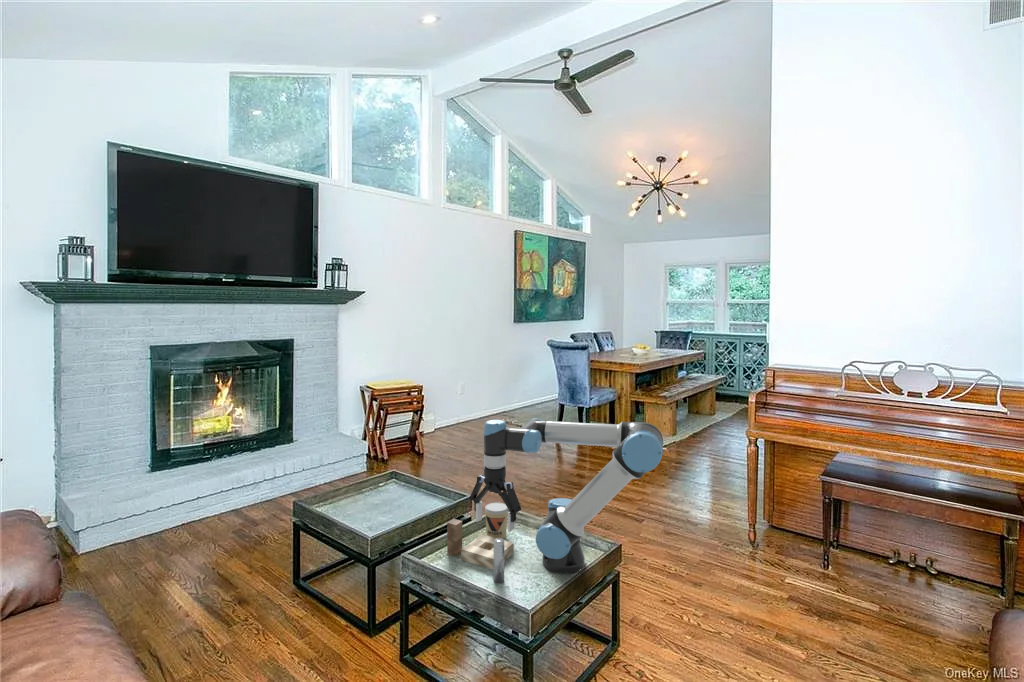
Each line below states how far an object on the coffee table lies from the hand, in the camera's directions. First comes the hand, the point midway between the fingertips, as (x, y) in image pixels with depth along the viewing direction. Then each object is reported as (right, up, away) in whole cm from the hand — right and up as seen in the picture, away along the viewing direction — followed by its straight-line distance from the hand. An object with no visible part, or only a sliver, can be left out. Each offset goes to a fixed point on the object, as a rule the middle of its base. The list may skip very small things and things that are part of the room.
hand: (494, 525), depth 182 cm
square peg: (-15, -15, +14) cm, 26 cm away
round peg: (+2, -17, -4) cm, 18 cm away
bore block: (-3, -16, +12) cm, 20 cm away
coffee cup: (0, -14, +29) cm, 32 cm away
